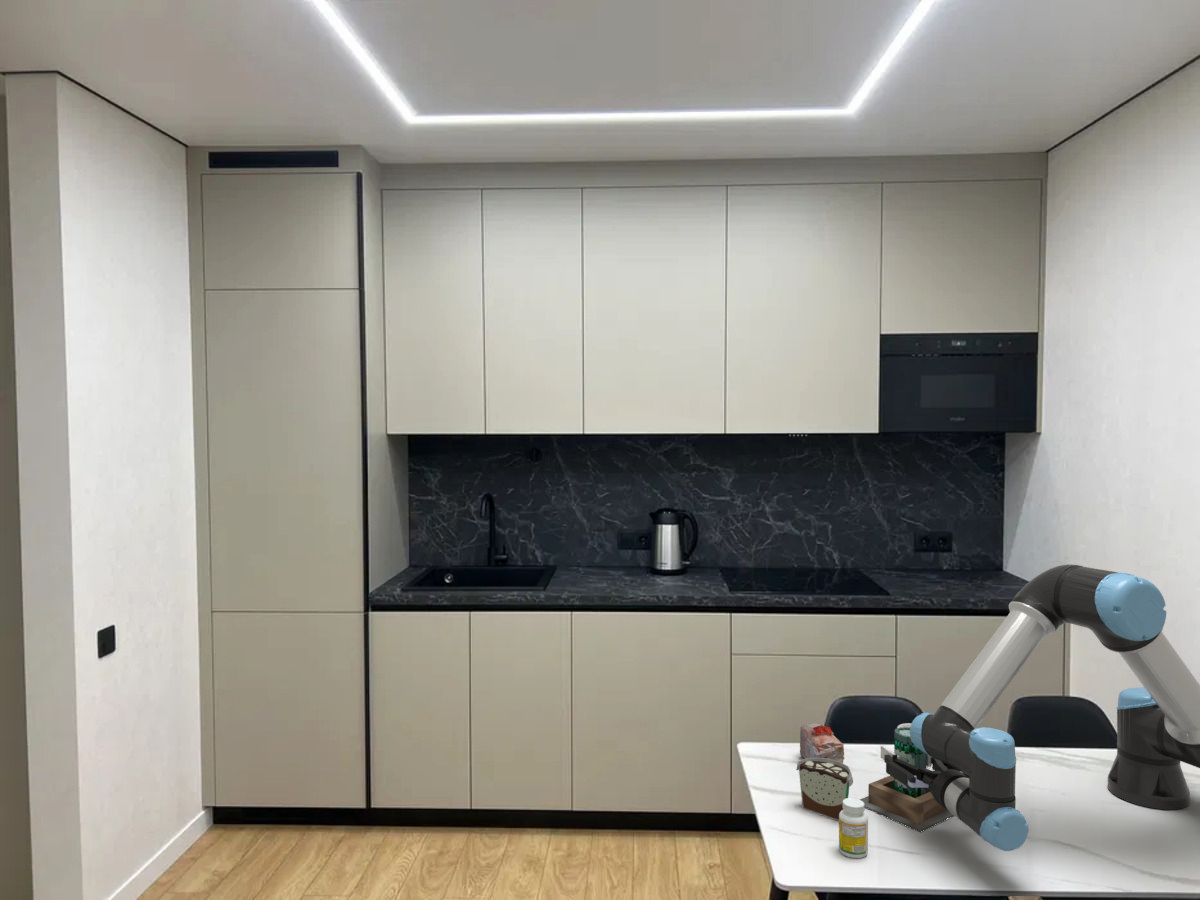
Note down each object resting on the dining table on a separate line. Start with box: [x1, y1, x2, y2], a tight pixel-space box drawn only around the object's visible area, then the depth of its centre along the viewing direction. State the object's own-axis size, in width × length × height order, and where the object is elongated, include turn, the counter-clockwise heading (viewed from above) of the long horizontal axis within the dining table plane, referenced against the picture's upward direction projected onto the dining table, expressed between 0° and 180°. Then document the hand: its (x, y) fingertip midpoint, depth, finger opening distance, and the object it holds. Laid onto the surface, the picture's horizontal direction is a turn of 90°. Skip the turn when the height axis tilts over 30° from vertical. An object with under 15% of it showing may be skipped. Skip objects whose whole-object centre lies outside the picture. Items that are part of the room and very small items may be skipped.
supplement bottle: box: [838, 797, 869, 859], centre depth 162 cm, size 5×5×10 cm
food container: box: [796, 758, 854, 822], centre depth 179 cm, size 12×6×10 cm, turn 47°
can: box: [893, 727, 927, 798], centre depth 180 cm, size 6×6×15 cm
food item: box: [799, 723, 845, 764], centre depth 202 cm, size 14×8×10 cm, turn 8°
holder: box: [859, 775, 955, 833], centre depth 181 cm, size 16×16×4 cm
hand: (897, 750), depth 185 cm, fingers open, 7 cm apart
